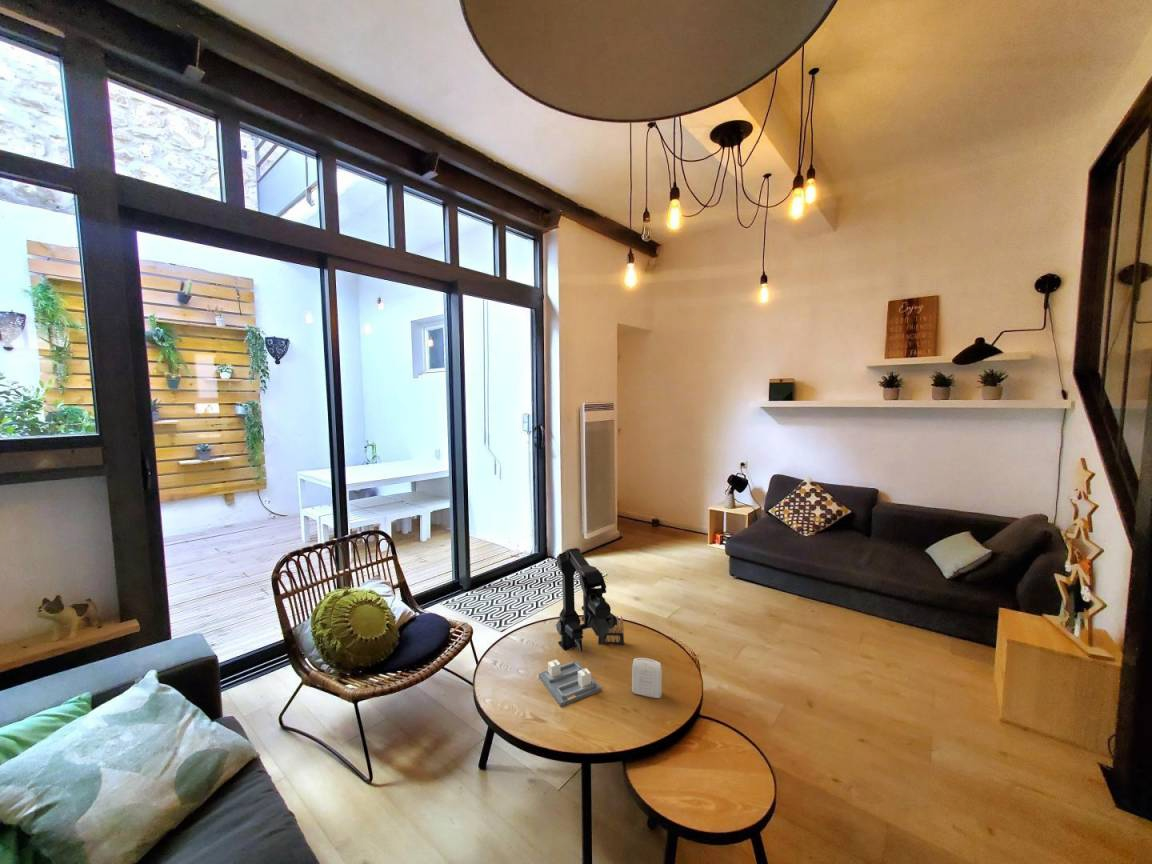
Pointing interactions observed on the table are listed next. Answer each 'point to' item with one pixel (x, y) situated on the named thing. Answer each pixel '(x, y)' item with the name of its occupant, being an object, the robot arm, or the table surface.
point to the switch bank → (568, 684)
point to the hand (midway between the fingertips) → (592, 647)
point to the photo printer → (647, 677)
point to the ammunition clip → (615, 634)
